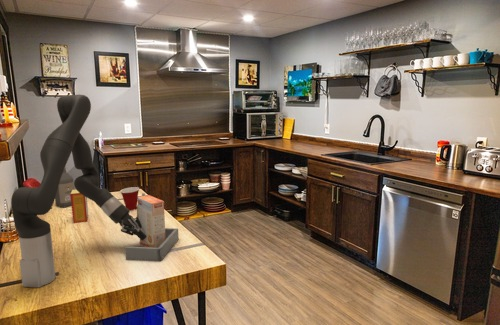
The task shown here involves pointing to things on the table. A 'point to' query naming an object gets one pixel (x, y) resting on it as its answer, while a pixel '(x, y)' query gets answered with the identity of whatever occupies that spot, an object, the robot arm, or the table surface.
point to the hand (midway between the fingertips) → (144, 238)
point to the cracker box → (152, 220)
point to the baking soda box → (79, 207)
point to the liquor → (64, 190)
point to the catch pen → (151, 252)
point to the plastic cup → (130, 197)
